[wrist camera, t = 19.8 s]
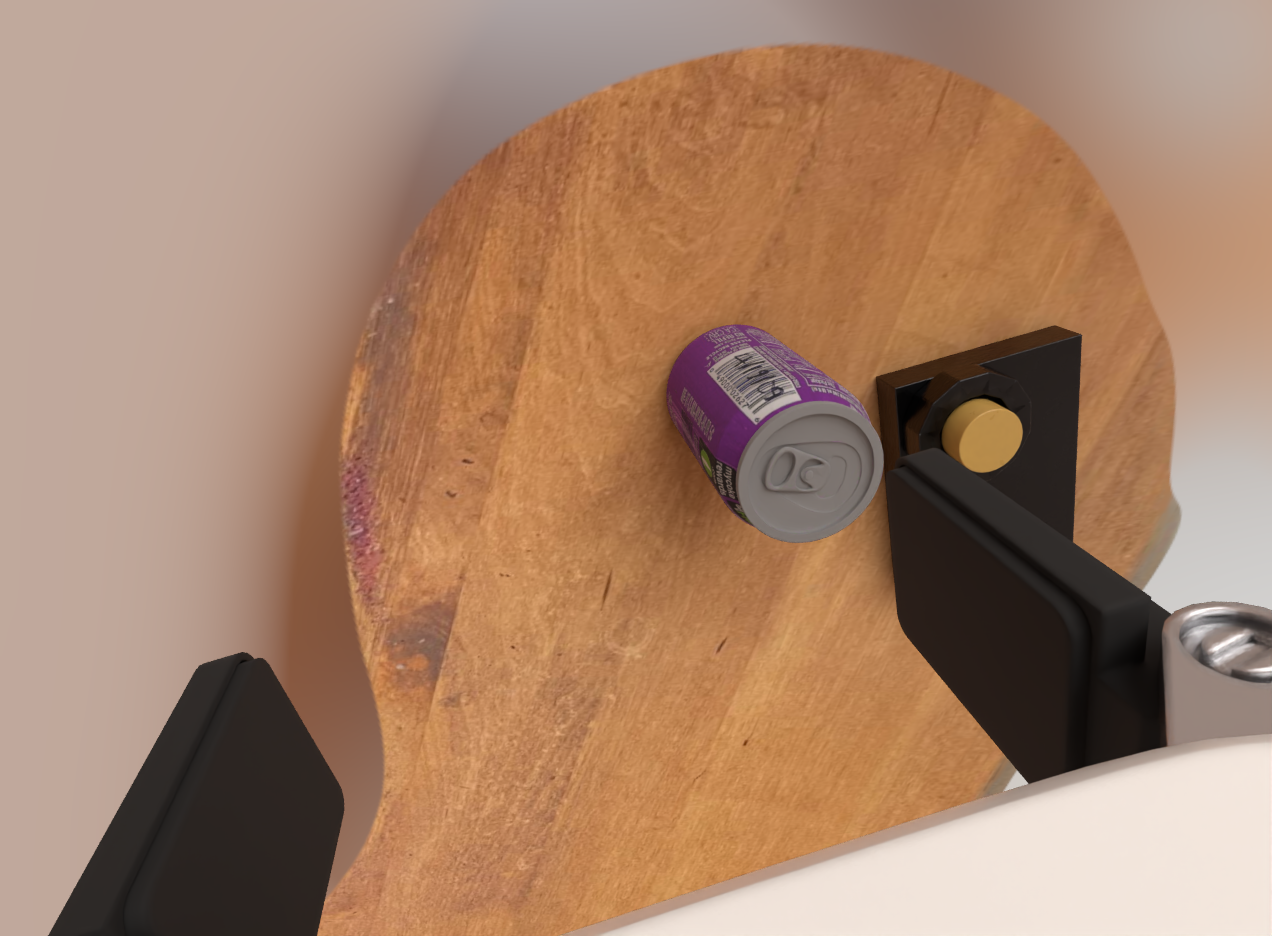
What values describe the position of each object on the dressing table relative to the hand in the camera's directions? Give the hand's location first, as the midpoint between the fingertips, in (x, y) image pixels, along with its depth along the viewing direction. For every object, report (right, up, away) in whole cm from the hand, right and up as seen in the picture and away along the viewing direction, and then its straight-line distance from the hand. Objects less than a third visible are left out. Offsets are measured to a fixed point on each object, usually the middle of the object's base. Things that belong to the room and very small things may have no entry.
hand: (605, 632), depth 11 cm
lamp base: (+21, +3, +34) cm, 40 cm away
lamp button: (+19, +5, +29) cm, 35 cm away
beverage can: (+5, +7, +30) cm, 31 cm away
